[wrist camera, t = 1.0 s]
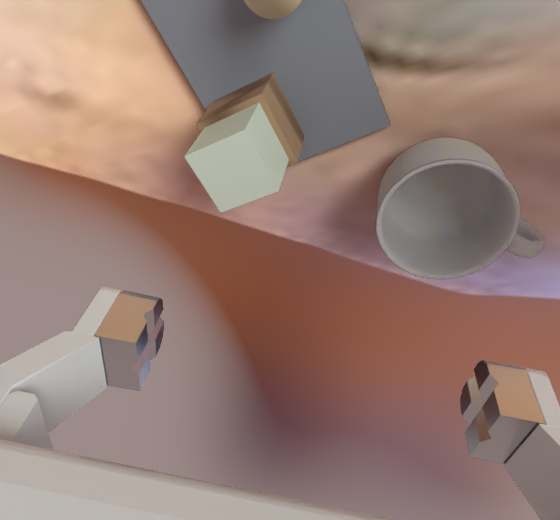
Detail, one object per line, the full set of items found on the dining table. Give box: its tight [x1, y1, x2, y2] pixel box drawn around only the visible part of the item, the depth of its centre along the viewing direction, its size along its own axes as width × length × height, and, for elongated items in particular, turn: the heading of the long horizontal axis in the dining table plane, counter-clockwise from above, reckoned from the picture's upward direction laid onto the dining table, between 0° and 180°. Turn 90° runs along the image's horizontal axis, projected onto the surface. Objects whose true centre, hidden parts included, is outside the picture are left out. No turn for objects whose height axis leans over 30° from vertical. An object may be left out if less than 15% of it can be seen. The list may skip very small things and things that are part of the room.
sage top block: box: [184, 103, 289, 213], centre depth 35 cm, size 5×5×5 cm
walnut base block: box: [196, 72, 305, 166], centre depth 39 cm, size 6×6×5 cm
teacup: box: [376, 138, 544, 279], centre depth 40 cm, size 14×11×8 cm
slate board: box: [141, 0, 390, 162], centre depth 38 cm, size 14×18×1 cm
